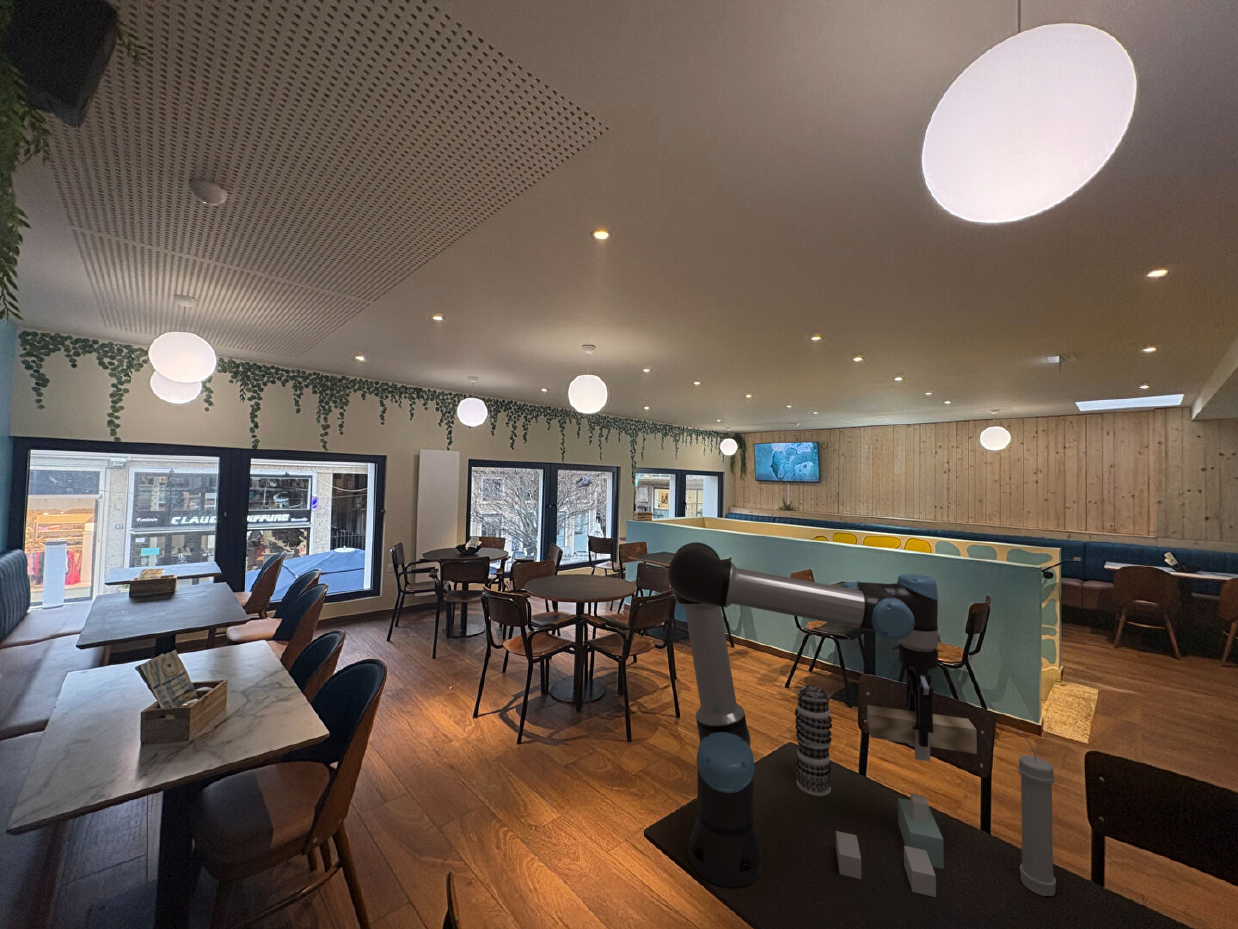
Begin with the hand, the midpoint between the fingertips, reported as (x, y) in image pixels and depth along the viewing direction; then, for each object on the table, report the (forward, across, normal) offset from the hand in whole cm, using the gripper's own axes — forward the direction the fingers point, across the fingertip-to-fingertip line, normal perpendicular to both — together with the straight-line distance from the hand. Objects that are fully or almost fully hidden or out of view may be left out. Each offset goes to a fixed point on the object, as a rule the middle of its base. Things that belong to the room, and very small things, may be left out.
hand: (919, 752), depth 109 cm
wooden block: (-3, 0, 0) cm, 3 cm away
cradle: (+20, -11, +9) cm, 25 cm away
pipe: (+20, -5, -19) cm, 28 cm away
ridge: (+20, 0, 0) cm, 20 cm away
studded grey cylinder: (+20, +15, +21) cm, 33 cm away
